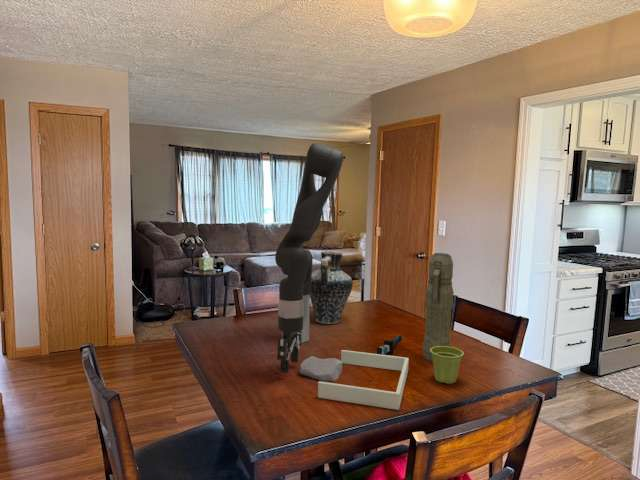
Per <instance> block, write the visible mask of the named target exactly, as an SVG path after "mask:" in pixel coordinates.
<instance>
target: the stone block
mask: <svg viewBox="0 0 640 480" xmlns="http://www.w3.org/2000/svg"><path fill="white" fill-rule="evenodd" d="M342 372H343V363H342V362H341V359H338V358H333V357H327V358H318V357H316V356H314V355H313V356H312V355H311V356H309V357H308V358H306V359H304V360H303V361H302V362H301V363H300V366H299V374H301V375H303V376H306V377H308V378H311V379H315V380H319V381H321V382H335V381H336V380H338V379H339V377H340V375H341V374H342Z"/></svg>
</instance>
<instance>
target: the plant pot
mask: <svg viewBox="0 0 640 480" xmlns="http://www.w3.org/2000/svg"><path fill="white" fill-rule="evenodd" d="M430 352H431V353H432V357H433V362H432V365H433V372H434V373H433V374H434V380H435V381H437V382H438V383H441V384H443V383H445V384H446V385H449V384H455V383H456V382H457V380H458V374H459V369H460V364H461V360H462V358H463V356H465V355H464V354H465V353H464V351H463V350H461V349H459V348H457V347H453V346H451V347H448V346H436V347H432V348H431V349H430Z"/></svg>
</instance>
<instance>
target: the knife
mask: <svg viewBox="0 0 640 480" xmlns="http://www.w3.org/2000/svg"><path fill="white" fill-rule="evenodd" d="M402 339H403V335H402V334H398V335H397V336H395V337H394V338H390V340H384V341H383V345H382V346H377V349H376V354H380V355H387V354H388V355H393V354H394V348H395V347H396V346H397V345H398V344H400V342H401V341H402Z"/></svg>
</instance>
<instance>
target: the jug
mask: <svg viewBox="0 0 640 480" xmlns="http://www.w3.org/2000/svg"><path fill="white" fill-rule="evenodd" d="M320 254H321V255H320V256H321V259H320V260H321V261H320V267H319V269H316V270H314V271H312V277H311V288H310V303H311V306H312V311H313V313H314V314H313V318H314V321H315V322H317V323H319V324H324V325H333V324H337V323H339V322H340V321H341V318H342V313H343V310H344V308H345V305H346V303H347V301H348V299H349V297H350V295H351V293H352V289H353V285H354V283H353V279H352V277H351V276H350V275H349V274H348V273H346V272H345V271H343V270H342V268H341V262H342V257H343V252H341V251H331V250H329V251H328V250H326V251H320Z"/></svg>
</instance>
